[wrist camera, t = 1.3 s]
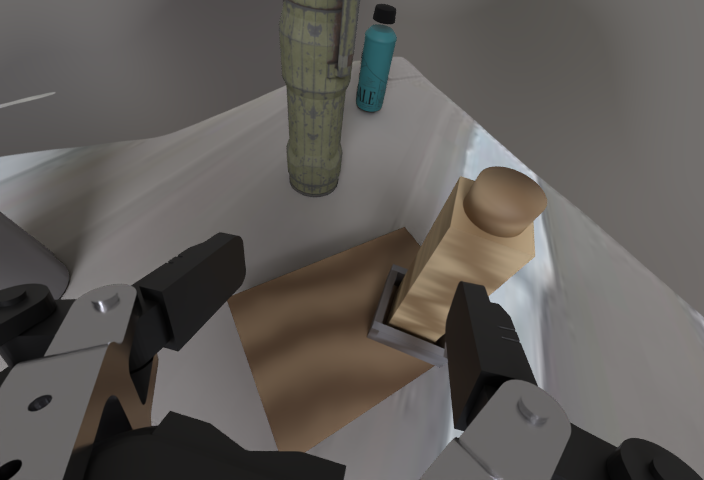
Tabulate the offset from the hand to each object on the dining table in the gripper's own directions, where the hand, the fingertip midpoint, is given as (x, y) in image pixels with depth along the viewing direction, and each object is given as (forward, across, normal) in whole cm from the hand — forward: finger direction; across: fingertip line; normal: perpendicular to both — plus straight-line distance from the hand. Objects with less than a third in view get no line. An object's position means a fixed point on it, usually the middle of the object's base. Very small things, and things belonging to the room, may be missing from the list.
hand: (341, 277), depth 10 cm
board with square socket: (+18, +1, +21) cm, 27 cm away
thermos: (+40, +15, +9) cm, 43 cm away
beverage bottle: (+65, +10, -2) cm, 66 cm away
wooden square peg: (+17, -5, +16) cm, 24 cm away
